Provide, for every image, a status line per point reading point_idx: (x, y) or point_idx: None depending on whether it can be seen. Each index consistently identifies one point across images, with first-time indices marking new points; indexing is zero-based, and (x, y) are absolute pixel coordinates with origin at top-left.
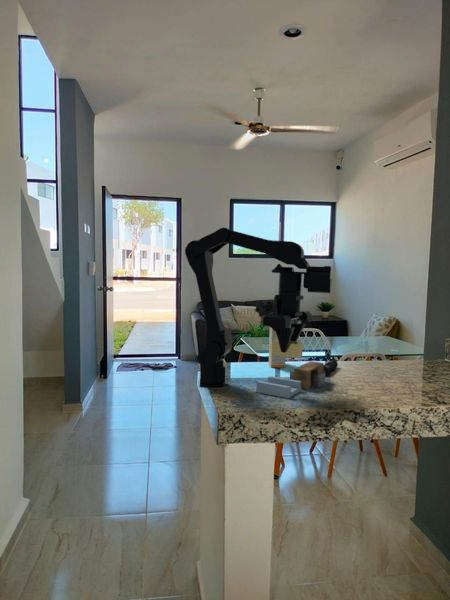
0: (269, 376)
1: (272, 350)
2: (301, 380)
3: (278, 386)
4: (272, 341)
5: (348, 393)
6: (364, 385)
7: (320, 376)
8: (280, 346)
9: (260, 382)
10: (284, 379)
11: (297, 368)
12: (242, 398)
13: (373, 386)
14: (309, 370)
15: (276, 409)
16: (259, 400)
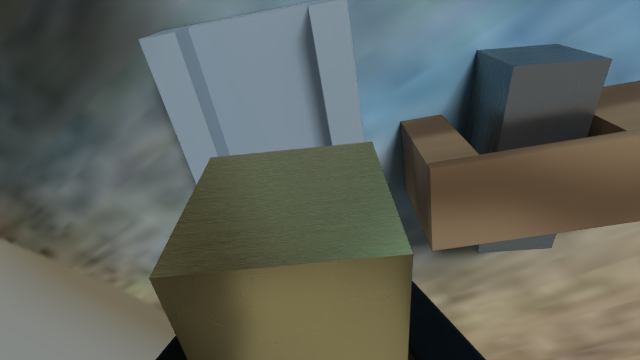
0: (330, 3)
1: (202, 186)
2: (413, 181)
3: (196, 179)
4: (158, 264)
5: (459, 305)
6: (615, 298)
7: (489, 250)
8: (173, 348)
9: (153, 65)
10: (336, 126)
11: (449, 181)
12: (15, 54)
13: (614, 320)
14: (453, 246)
15: (78, 244)
16: (83, 136)
